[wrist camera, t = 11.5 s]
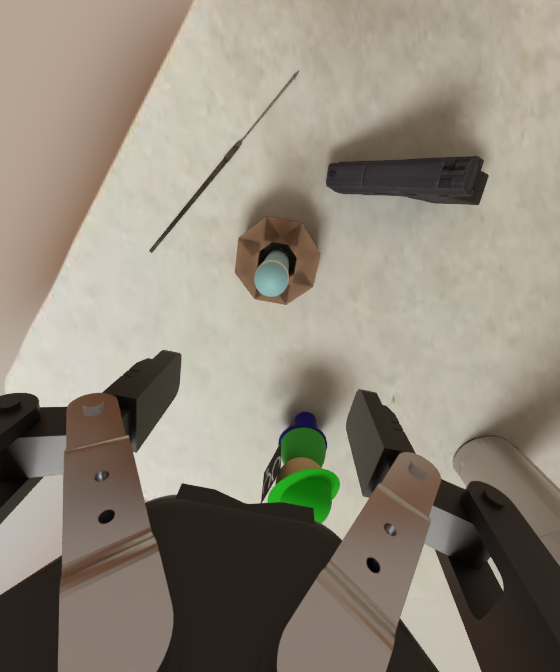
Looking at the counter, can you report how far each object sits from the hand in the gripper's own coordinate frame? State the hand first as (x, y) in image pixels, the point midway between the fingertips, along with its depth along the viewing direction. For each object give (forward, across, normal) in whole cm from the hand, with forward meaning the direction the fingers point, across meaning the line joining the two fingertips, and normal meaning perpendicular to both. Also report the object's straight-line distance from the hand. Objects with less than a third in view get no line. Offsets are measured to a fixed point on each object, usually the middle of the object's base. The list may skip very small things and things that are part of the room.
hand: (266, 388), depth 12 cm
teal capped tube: (+25, +1, -3) cm, 25 cm away
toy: (+25, -7, +22) cm, 34 cm away
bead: (+25, +1, -3) cm, 25 cm away
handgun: (+25, -10, -13) cm, 30 cm away
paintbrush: (+25, +10, -11) cm, 29 cm away
